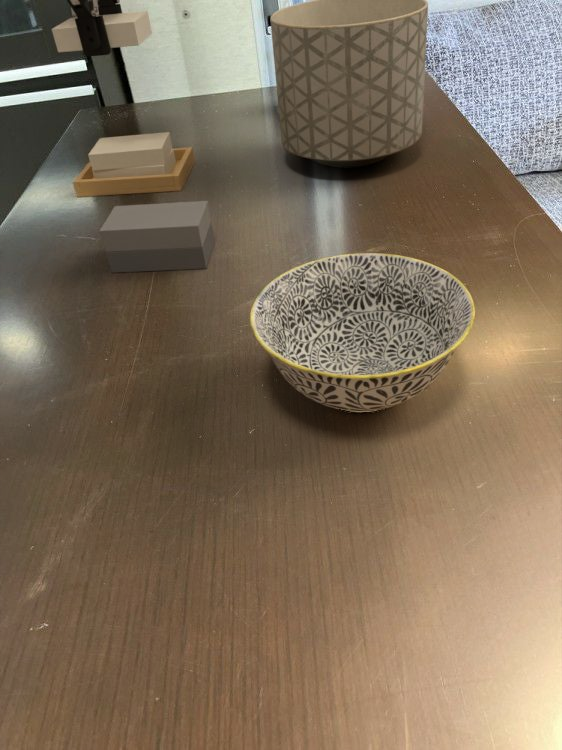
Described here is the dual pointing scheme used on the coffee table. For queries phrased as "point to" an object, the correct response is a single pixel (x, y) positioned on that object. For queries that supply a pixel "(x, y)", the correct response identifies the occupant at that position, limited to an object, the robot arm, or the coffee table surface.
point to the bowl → (362, 327)
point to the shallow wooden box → (137, 179)
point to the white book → (118, 27)
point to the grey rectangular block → (158, 237)
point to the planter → (350, 78)
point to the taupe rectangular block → (132, 156)
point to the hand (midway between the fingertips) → (106, 46)
